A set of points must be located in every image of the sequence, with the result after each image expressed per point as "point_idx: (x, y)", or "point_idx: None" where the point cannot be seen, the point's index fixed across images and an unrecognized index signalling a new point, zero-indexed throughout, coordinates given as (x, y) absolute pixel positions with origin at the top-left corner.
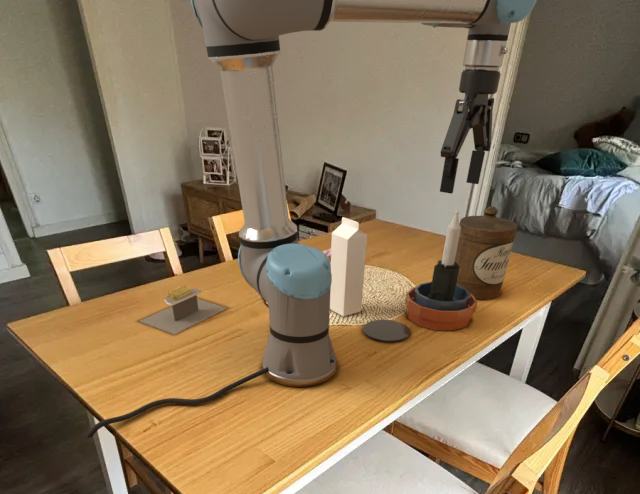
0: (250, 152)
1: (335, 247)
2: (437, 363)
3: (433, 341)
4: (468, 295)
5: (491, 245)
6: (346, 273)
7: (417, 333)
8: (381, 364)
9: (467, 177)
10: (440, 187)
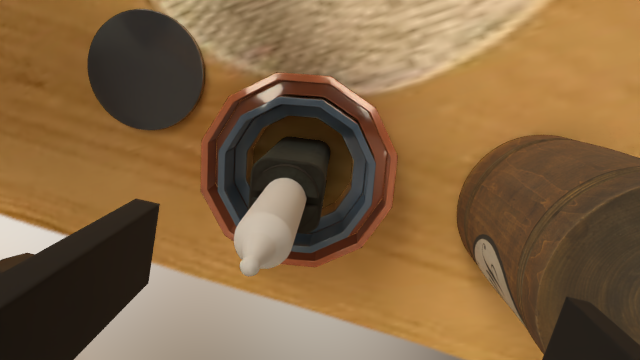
0: None
1: None
2: (75, 218)
3: (163, 187)
4: (303, 248)
5: (519, 311)
6: None
7: (182, 143)
8: (3, 115)
9: (586, 315)
10: (122, 206)
